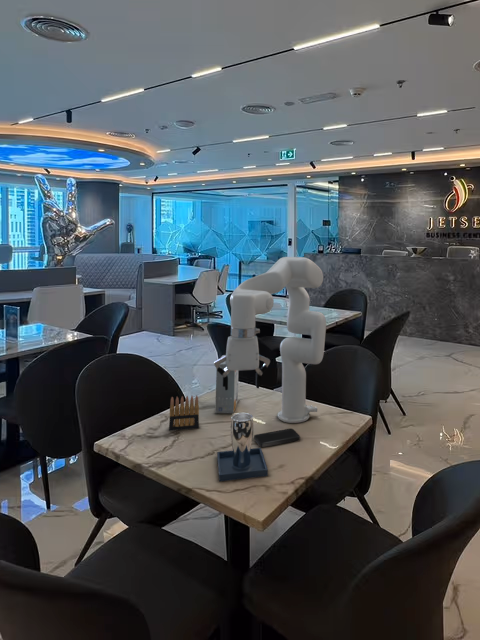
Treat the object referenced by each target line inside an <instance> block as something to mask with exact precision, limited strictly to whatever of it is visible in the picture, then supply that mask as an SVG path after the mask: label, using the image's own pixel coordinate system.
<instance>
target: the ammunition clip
mask: <svg viewBox="0 0 480 640" xmlns="http://www.w3.org/2000/svg"><path fill="white" fill-rule="evenodd" d="M184 400H185V401H184ZM169 404H170V405H169V422H168V423H169V425H168V431H182V430H194V429H195V430H197V429H199V428H200V405H199V396H198V395H195V399H194V396H193V395H191V397H190V400H189V396H188V395H187V396H186V397H185V399H184V396H183V395H182V396H181V398H180V401H179V397H178V396H176V398H175V400H174V397H173V396H171V397H170V403H169Z"/></svg>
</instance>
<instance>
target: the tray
mask: <svg viewBox="0 0 480 640" xmlns="http://www.w3.org/2000/svg"><path fill="white" fill-rule="evenodd" d="M250 458H251V466H250V467H249V468H248V469H245V470H236V469H234V468H232V460H233V450H224V451H217V452H216V459H217V461H216V462H217V471H218V481H219V482H227V481H236V480H244V479H253V478H262V477H268V475H269V469H268V465H267V462H266V459H265V455H264V453H263V449H262V447H255V448H251V450H250Z"/></svg>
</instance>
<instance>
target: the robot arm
mask: <svg viewBox="0 0 480 640" xmlns="http://www.w3.org/2000/svg"><path fill="white" fill-rule="evenodd" d="M323 273H324V272H323V271H322V268H321V267H320V266H318V264H317V263H315V262H314V261H313V260H311V259H309V258H308V257H304V256H302V257H301V256H283V257H280V258H278V259H277V260H276V262H274V264H272V266H270V267H269V269H268V270H267V271H265V272H263V273H260V274H258V275H256V276H253V277H251V278H248V279H245V280H244V281H242V282H241V283H240V284H239V285H238V286H236V287H235V289H234V290H233V291H232V293H231V295H230V298H229V305H230V308H231V311H230V312H231V313H230V315H231V316H230V336H228V337H227V341H226V348H225V349H226V350H225V355H226V356H224V357H222V356H221V357H222V358H221V357H220V358H219V359H217V360H215V361H214V362H213V365H214V367H215V370H216V369H217V371H218V372H219V373H220V374H221V375H222V376H223V387H225V390H228V373H229V372H230V371H238V372H240V371H255V372H256V373H255V387H256V389H260V386H261V385H262V375H263V374H264V372H266V370H268V367H269V365H270V363H271V360H270V358H268V357H265V356H264V355H261V354H260V348H259V340H258V336H257V334H260V333H261V330H260V328H257V327H256V316H257V315H265V314H268V313H269V312H270V311H272V309H273V307H274V303H275V301H274V297H273V294H277V293H280V292H281V291H283V290H284V289H286V292H287V295H288V307H287V315H286V328H287V329H286V330H287V331H288V332H289V333H291V334H295V335H304V336H311V338H305V337H297V336H287V337H285V338H284V339H282V340H281V342H280V344H279V351H280V352H279V354H280V359H281V410H279V411H278V413H277V418H278V420H279V421H281V422H283V423H289V424H299V423H300V424H301V423H304V422H306V421H308V420H309V418H310V413H316V412H318V406H313V405H312V404H311V405H307V404H306V403H307V402H306V401H307V398H306V397H307V371H306V369H305V366H304V364H307V365H319V364H320V363H321V362H322V361H323V358H324V353H325V346H326V345H325V343H326V332H327V320H326V316H325V315H324V313H323V312H320V311H317V310H310V302H311V297H310V295H309V292H308V291H307V290H306V289H317V288H319V287H321V286H322V284H323V281H324V274H323ZM225 361H226V366H227V367H226V368H225V369H224V370H223V369H222V368H221V367H220V364H221V363H223V362H225ZM260 361H261V362H263V365H261V367H260Z"/></svg>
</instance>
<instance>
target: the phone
mask: <svg viewBox="0 0 480 640" xmlns="http://www.w3.org/2000/svg"><path fill="white" fill-rule="evenodd" d="M300 438H301V436H300V434H299V433H298V432H297V431H296V430H295V429H294V428H285V429H279V430H273V431H269V432H263V433H257V434H253V440H254V442H255V443H256V444H257V446H258V448H266V447H271V446H277V445H282V444H286V443H293V442H297V441H300V440H301V439H300Z"/></svg>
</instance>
